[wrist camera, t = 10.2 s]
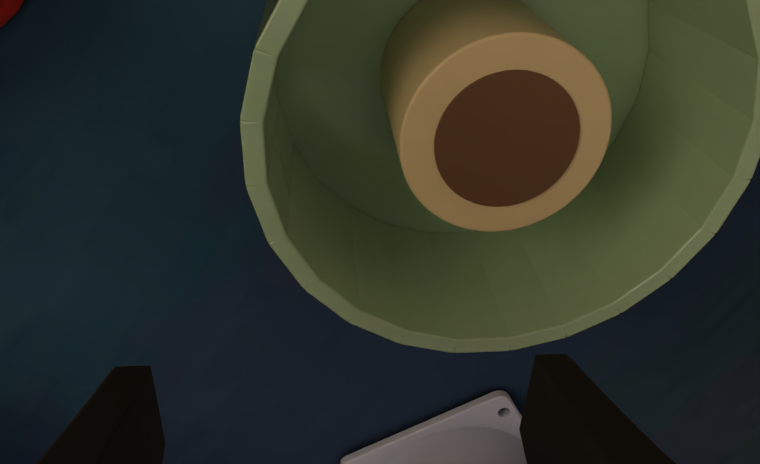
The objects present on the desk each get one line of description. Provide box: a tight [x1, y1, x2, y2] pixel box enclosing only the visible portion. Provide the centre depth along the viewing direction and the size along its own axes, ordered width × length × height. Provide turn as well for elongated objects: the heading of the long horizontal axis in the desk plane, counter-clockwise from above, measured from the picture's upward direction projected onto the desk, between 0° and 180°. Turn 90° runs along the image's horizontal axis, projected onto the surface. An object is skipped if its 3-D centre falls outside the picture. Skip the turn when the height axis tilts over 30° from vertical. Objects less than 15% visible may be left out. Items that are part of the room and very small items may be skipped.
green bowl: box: [240, 0, 760, 353], centre depth 17 cm, size 12×12×6 cm
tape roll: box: [381, 0, 612, 232], centre depth 17 cm, size 5×5×5 cm
